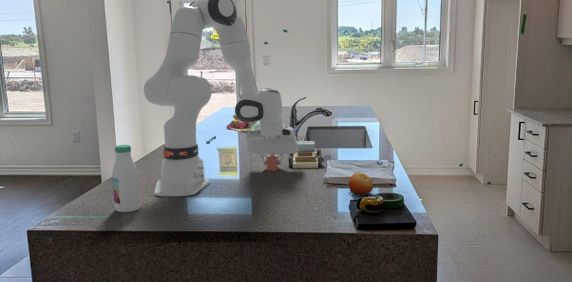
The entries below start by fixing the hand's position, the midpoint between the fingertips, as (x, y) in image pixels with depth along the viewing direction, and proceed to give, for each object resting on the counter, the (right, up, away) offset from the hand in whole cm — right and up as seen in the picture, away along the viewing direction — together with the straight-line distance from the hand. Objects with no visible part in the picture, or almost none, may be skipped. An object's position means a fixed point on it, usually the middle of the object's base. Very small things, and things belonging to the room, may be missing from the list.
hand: (272, 164), depth 203 cm
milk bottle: (-44, -12, -44) cm, 63 cm away
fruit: (+30, -8, -35) cm, 47 cm away
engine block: (0, -2, 0) cm, 2 cm away
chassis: (+13, +1, +10) cm, 16 cm away
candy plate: (-17, +17, +95) cm, 98 cm away
